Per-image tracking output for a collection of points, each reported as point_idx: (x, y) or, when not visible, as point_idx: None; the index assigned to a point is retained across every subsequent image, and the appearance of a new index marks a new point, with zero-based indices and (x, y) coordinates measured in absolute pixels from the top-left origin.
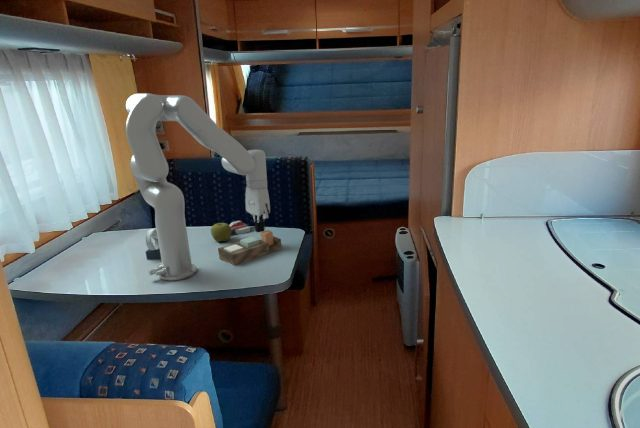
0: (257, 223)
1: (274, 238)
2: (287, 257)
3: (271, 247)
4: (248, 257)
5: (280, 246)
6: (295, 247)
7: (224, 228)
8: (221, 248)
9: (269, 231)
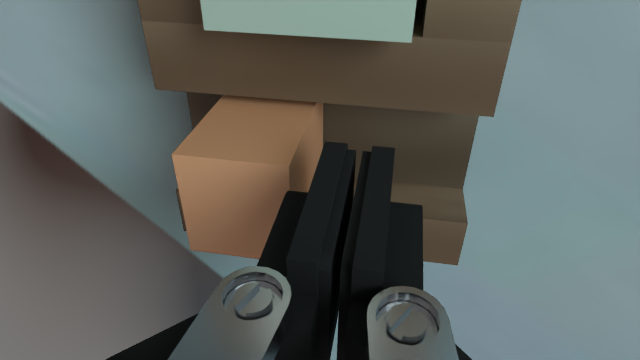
0: (295, 249)
1: None
2: (25, 81)
3: (189, 97)
4: None
5: None
6: (180, 242)
7: None
8: None
9: (222, 238)
